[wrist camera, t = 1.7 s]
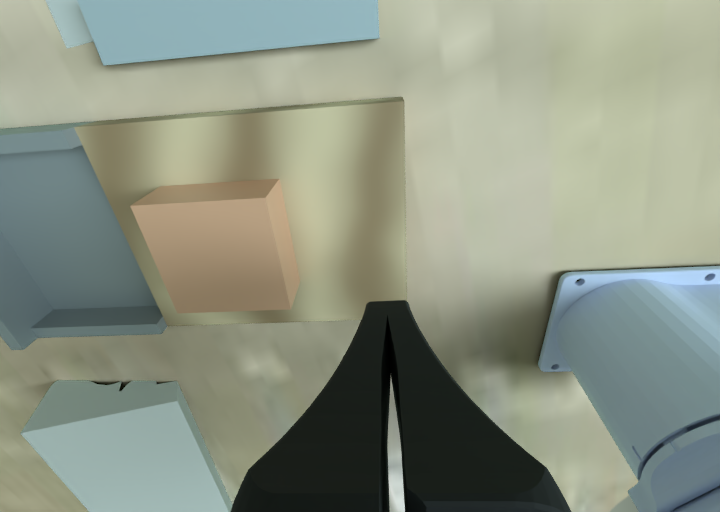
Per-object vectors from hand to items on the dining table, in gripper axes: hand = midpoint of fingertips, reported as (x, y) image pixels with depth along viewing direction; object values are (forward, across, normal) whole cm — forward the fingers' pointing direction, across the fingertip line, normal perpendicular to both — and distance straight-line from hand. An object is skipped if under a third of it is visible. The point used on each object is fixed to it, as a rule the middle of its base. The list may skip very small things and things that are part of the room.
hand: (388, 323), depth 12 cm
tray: (+8, +18, 0) cm, 20 cm away
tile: (+7, +8, 0) cm, 11 cm away
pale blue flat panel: (+9, +6, -10) cm, 14 cm away
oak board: (+8, +6, 0) cm, 11 cm away
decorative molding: (+9, +22, +29) cm, 38 cm away
